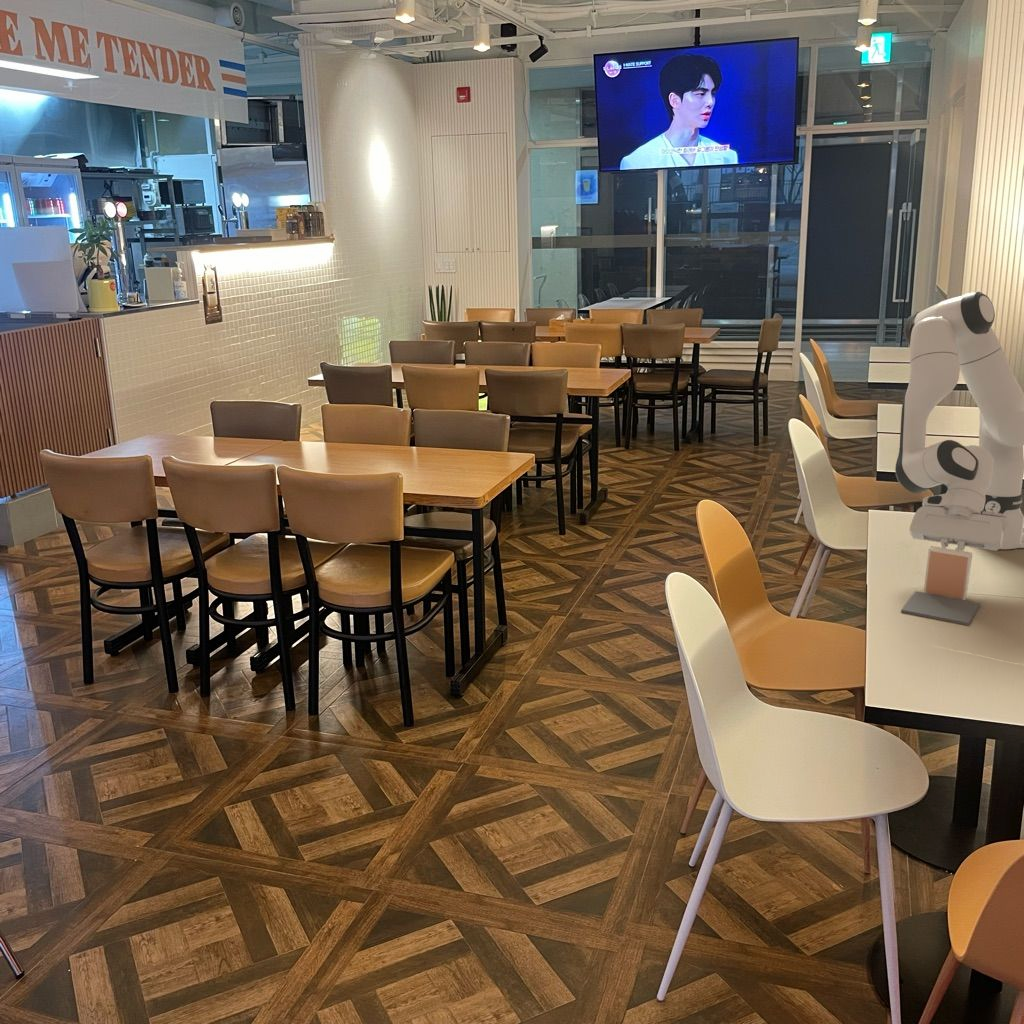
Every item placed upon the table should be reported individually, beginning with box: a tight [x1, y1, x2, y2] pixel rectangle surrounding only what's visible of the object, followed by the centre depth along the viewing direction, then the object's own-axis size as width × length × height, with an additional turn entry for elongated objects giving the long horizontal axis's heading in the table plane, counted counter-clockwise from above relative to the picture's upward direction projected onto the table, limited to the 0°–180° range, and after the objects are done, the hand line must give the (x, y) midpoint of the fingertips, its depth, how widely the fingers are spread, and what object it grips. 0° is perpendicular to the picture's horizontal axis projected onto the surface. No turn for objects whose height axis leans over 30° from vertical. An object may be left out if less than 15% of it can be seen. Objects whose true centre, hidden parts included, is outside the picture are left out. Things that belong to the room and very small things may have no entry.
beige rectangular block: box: [923, 545, 973, 600], centre depth 230 cm, size 3×9×11 cm, turn 56°
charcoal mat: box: [900, 590, 981, 626], centre depth 223 cm, size 14×14×1 cm
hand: (948, 558), depth 232 cm, fingers closed
